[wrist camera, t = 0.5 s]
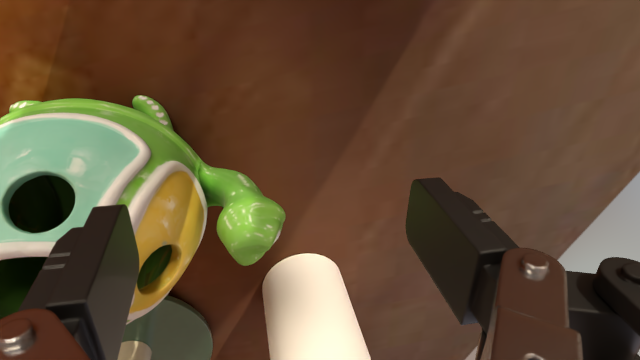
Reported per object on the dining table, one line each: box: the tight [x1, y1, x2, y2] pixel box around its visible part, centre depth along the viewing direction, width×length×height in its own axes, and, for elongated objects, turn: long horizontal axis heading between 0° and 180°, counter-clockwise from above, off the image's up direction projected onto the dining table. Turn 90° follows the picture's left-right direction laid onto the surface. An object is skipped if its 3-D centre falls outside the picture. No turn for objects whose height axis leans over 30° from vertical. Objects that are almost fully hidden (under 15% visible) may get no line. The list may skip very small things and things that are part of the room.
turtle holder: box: [0, 95, 286, 325], centre depth 24 cm, size 12×18×12 cm
